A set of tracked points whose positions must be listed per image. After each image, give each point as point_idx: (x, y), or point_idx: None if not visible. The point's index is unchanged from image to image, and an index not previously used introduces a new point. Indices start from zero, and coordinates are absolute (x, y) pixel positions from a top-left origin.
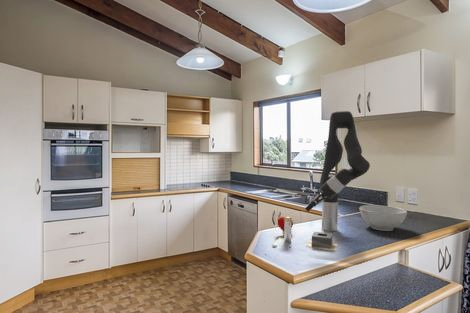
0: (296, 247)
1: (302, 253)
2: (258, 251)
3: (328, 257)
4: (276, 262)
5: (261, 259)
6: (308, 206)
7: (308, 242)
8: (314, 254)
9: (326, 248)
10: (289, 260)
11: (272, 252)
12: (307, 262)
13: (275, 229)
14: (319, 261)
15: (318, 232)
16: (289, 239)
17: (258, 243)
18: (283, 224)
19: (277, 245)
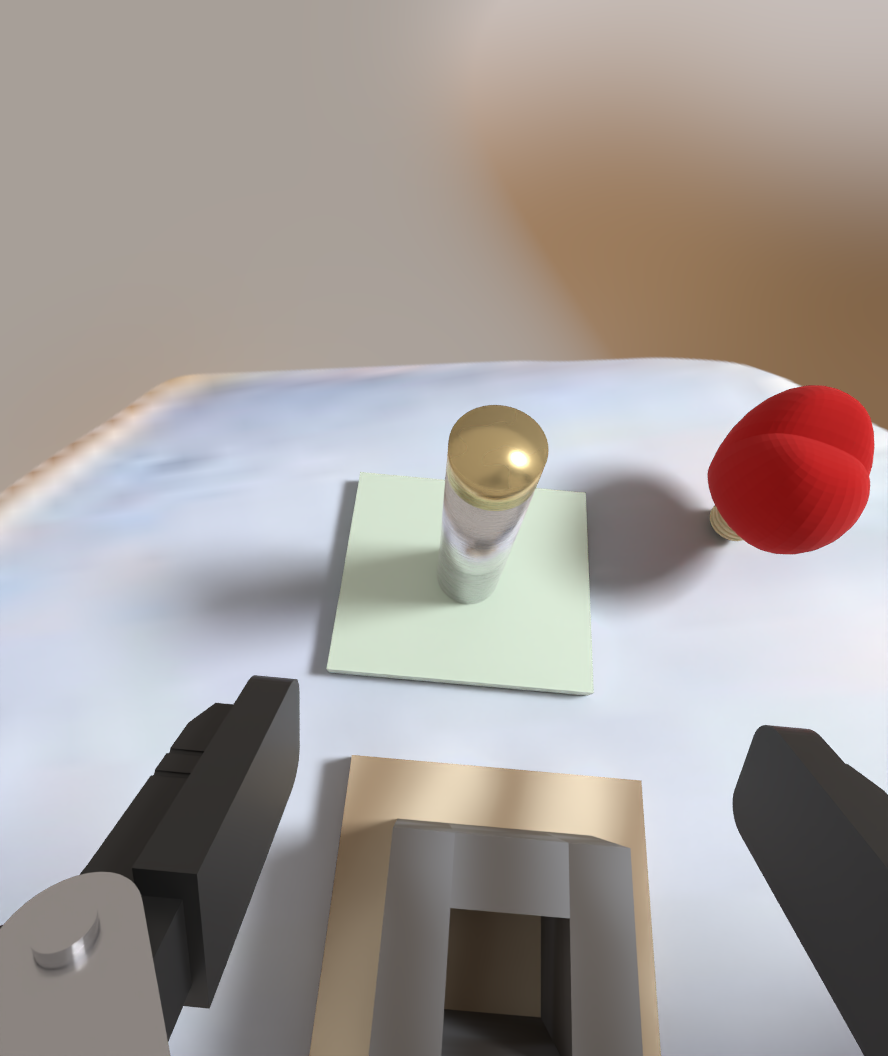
0: None
1: None
2: (235, 412)
3: (176, 1038)
4: (6, 557)
5: (66, 456)
6: (153, 777)
7: (520, 772)
8: None
9: (366, 1016)
10: (56, 644)
11: (231, 499)
12: (11, 806)
13: None
14: None
15: (612, 916)
16: (446, 580)
17: (416, 384)
18: (726, 460)
19: (359, 508)
